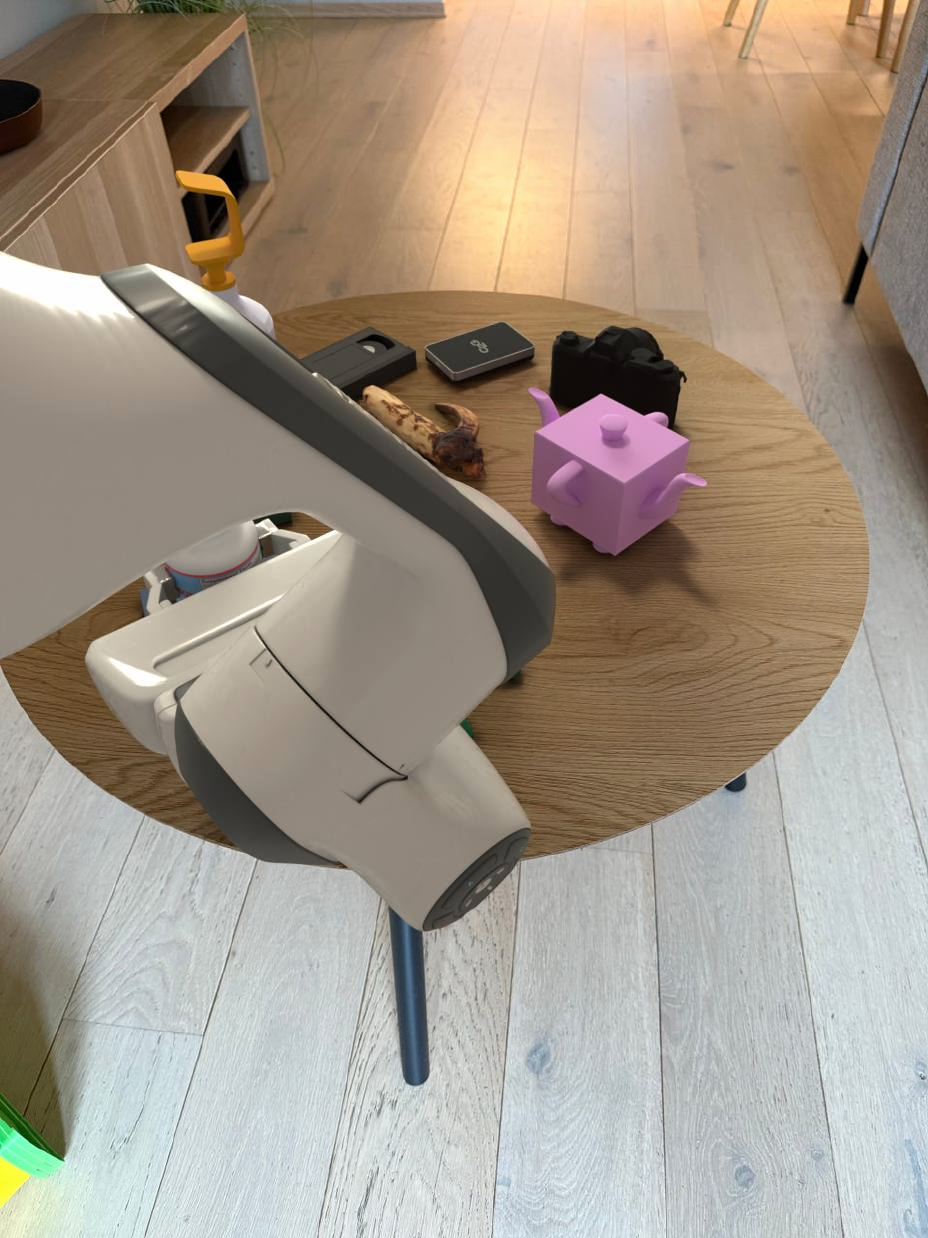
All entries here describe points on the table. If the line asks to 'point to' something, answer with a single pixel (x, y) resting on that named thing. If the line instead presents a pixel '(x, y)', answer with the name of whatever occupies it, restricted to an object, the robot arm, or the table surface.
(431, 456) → the bone fish hook
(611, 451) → the teapot
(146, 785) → the table surface
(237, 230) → the soap bottle
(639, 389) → the film camera
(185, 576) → the pill bottle
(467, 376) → the external hard drive
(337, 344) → the vhs tape
